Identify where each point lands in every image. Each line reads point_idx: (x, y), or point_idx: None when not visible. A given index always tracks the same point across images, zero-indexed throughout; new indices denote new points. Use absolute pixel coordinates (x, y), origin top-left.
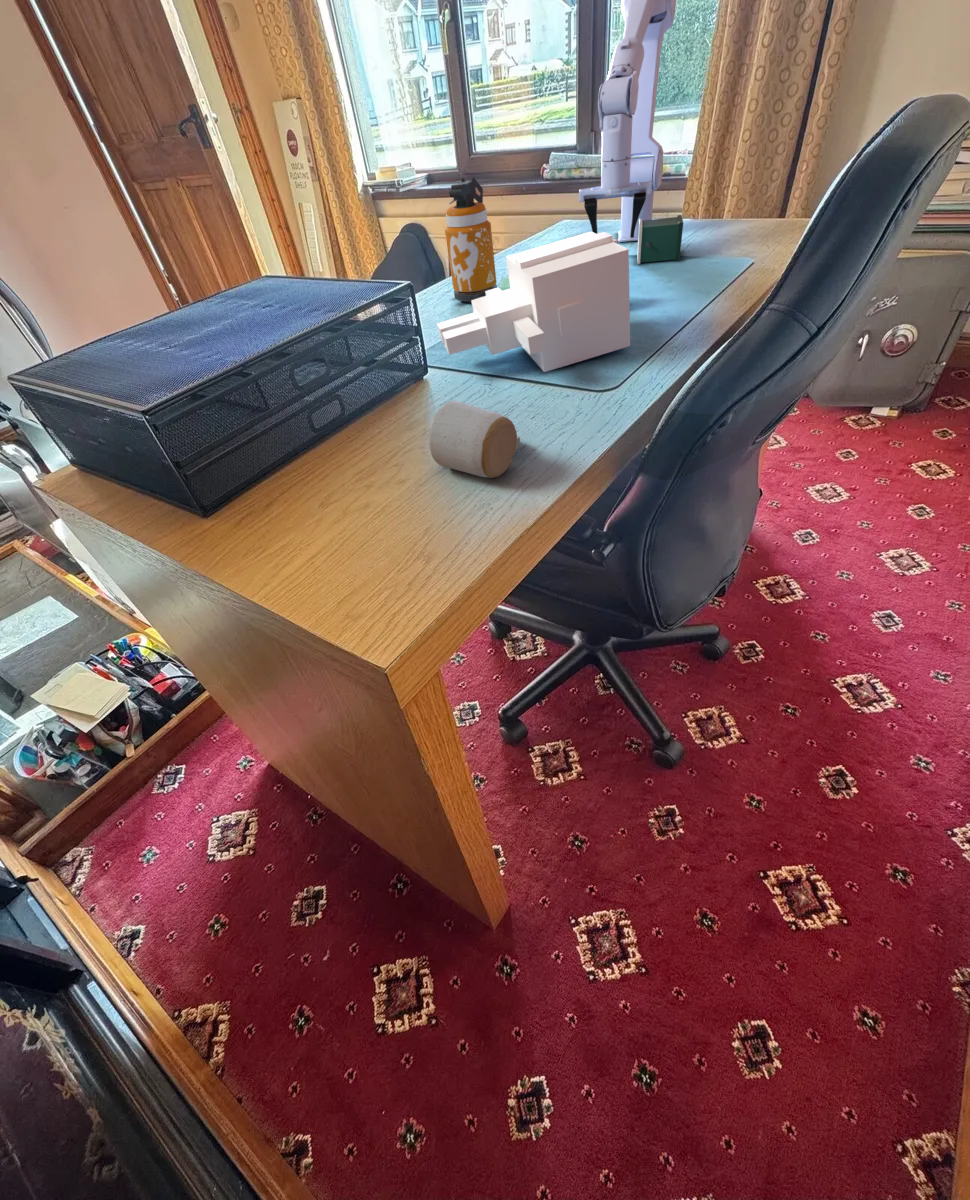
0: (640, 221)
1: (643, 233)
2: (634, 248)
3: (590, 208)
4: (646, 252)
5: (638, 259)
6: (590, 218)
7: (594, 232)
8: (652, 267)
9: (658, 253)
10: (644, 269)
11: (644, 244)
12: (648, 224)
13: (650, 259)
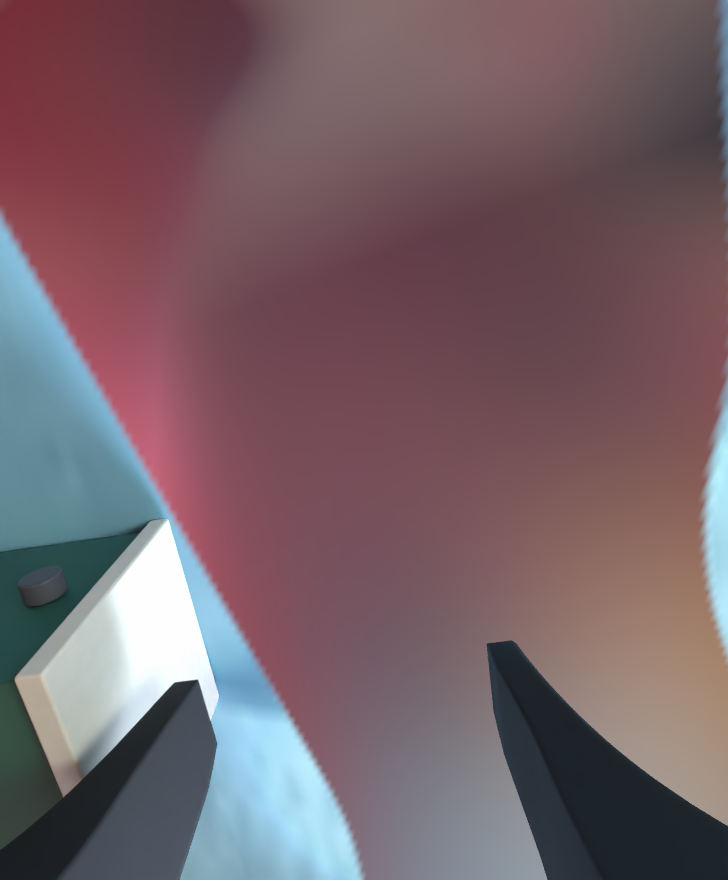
0: None
1: (40, 645)
2: (275, 831)
3: (699, 867)
4: (83, 564)
5: (151, 532)
6: (628, 772)
7: (527, 678)
8: (42, 439)
9: (8, 571)
10: (85, 399)
11: (73, 593)
12: (2, 773)
13: (77, 546)
